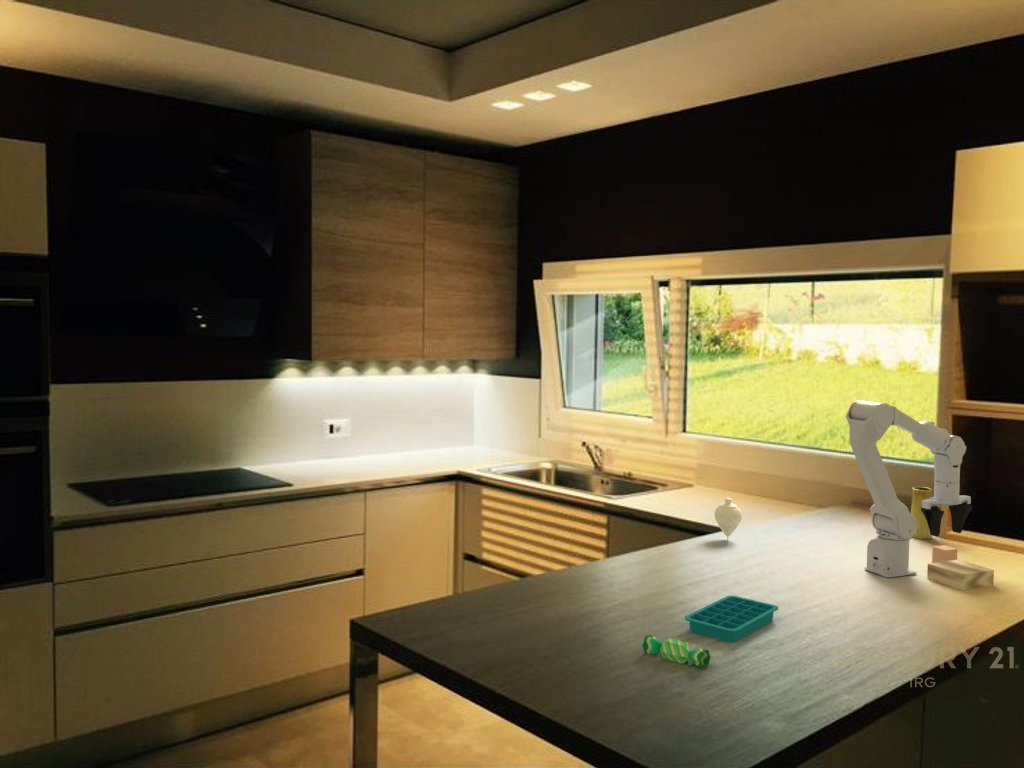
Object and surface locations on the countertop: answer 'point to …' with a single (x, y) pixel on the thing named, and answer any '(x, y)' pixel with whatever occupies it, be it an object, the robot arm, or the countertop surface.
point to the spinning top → (728, 516)
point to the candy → (676, 651)
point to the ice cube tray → (731, 618)
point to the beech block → (960, 574)
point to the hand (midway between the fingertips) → (945, 533)
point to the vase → (922, 524)
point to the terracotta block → (943, 553)
